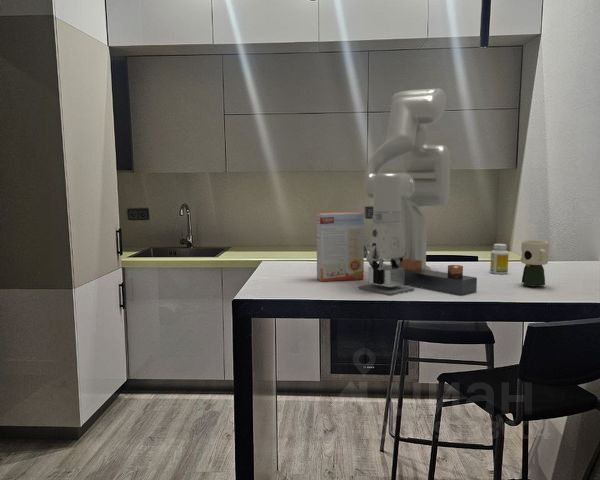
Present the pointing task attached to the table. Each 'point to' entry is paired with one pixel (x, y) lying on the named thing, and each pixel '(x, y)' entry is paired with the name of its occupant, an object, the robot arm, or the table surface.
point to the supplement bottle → (499, 259)
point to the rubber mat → (386, 289)
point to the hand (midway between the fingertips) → (386, 281)
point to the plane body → (438, 278)
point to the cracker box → (340, 246)
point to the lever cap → (390, 276)
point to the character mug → (534, 261)
